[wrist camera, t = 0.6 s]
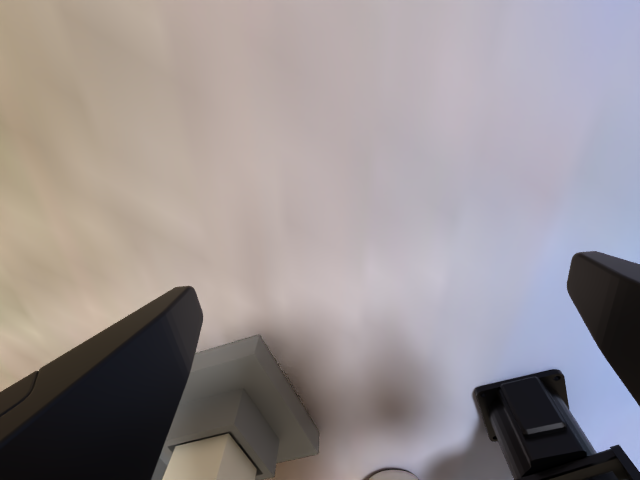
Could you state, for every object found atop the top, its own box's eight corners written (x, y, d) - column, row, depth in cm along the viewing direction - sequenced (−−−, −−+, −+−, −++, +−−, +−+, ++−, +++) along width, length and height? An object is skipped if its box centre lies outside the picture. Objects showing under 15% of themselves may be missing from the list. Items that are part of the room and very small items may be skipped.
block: (319, 432, 33) (316, 492, 29) (117, 478, 38) (88, 536, 33) (259, 334, 28) (245, 388, 24) (34, 401, 33) (-13, 457, 28)
